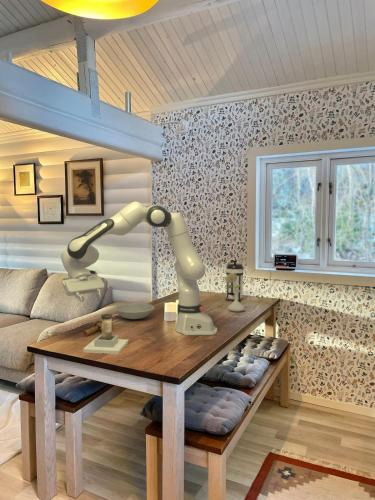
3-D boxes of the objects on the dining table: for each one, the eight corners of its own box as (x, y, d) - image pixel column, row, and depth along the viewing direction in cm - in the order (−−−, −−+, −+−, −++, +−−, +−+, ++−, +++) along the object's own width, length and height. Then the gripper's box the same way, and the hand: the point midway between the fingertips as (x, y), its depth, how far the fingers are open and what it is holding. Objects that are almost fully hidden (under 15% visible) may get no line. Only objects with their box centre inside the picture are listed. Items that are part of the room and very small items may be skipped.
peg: (113, 342, 173) (113, 314, 172) (110, 346, 169) (110, 316, 168) (103, 342, 174) (103, 313, 173) (99, 345, 169) (99, 316, 168)
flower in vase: (244, 309, 251) (245, 272, 249) (245, 313, 240) (246, 274, 238) (224, 308, 252) (225, 271, 250) (224, 312, 241) (225, 274, 239)
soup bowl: (138, 325, 208) (138, 314, 207) (105, 319, 219) (105, 308, 219) (162, 316, 229) (162, 305, 228) (130, 311, 240) (130, 301, 240)
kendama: (92, 340, 186) (117, 327, 201) (89, 328, 185) (114, 315, 200) (81, 340, 190) (106, 327, 205) (78, 328, 189) (104, 316, 204)
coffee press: (219, 299, 283) (220, 259, 281) (237, 297, 290) (238, 258, 287) (231, 303, 267) (232, 261, 265) (250, 301, 274) (251, 261, 272)
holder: (128, 342, 178) (128, 333, 178) (118, 354, 163) (118, 344, 162) (96, 341, 180) (95, 331, 180) (82, 352, 164) (82, 342, 164)
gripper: (62, 274, 174) (74, 298, 169) (99, 271, 190) (111, 292, 184) (57, 283, 178) (68, 306, 172) (94, 278, 193) (105, 300, 187)
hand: (90, 299), depth 178 cm, fingers open, 8 cm apart
